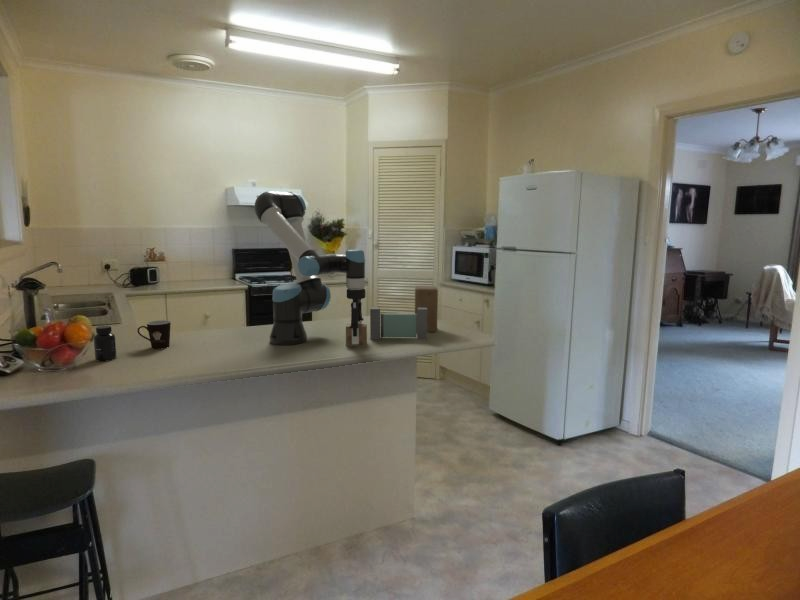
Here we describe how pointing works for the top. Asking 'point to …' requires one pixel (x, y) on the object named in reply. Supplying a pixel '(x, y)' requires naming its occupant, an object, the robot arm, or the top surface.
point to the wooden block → (427, 305)
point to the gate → (398, 325)
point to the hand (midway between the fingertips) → (357, 340)
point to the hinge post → (375, 323)
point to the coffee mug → (158, 333)
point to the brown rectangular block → (361, 335)
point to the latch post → (422, 323)
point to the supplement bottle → (104, 344)
